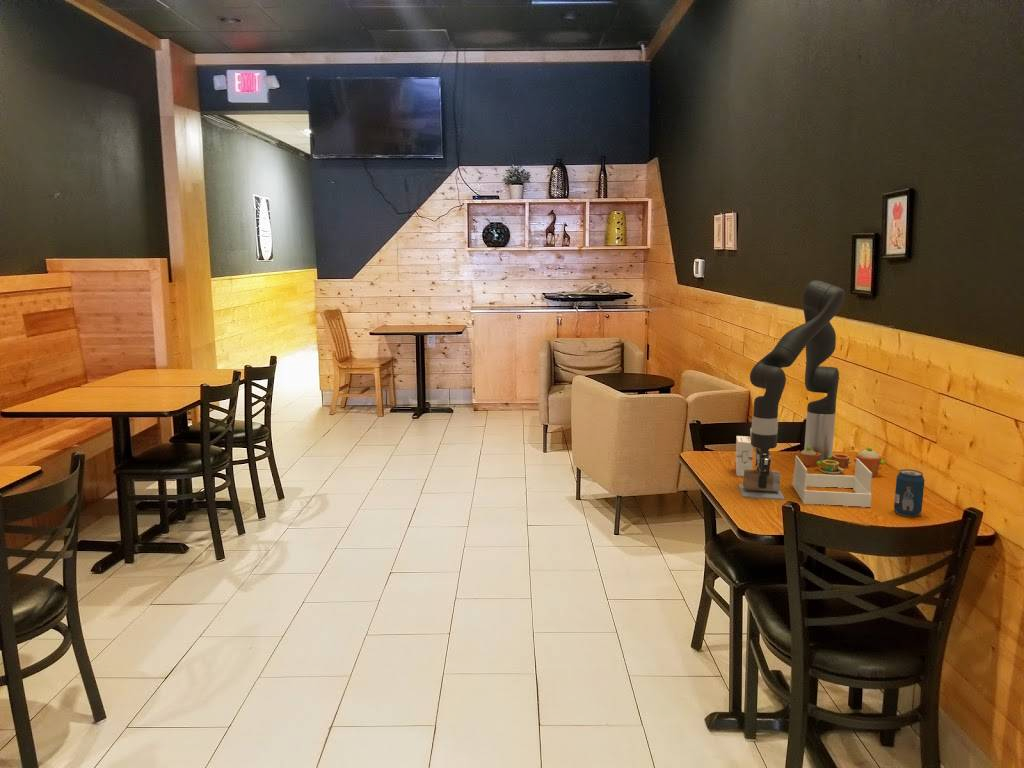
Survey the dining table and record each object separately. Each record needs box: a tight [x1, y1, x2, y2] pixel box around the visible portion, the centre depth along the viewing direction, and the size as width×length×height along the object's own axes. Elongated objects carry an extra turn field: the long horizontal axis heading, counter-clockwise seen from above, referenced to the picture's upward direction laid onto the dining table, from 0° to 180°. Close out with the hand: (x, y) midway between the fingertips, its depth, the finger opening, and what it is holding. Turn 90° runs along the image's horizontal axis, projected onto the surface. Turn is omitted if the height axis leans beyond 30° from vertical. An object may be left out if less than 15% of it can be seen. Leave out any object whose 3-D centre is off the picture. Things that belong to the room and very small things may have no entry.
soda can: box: [893, 468, 926, 517], centre depth 211 cm, size 7×7×12 cm
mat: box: [737, 483, 786, 500], centre depth 230 cm, size 12×12×1 cm
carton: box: [792, 454, 873, 509], centre depth 226 cm, size 18×18×10 cm
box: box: [742, 469, 781, 491], centre depth 229 cm, size 5×10×5 cm, turn 80°
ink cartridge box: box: [734, 427, 754, 477], centre depth 249 cm, size 9×5×15 cm, turn 168°
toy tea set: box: [800, 446, 886, 478], centre depth 253 cm, size 26×16×10 cm, turn 76°
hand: (761, 485), depth 230 cm, fingers closed on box, 4 cm apart
